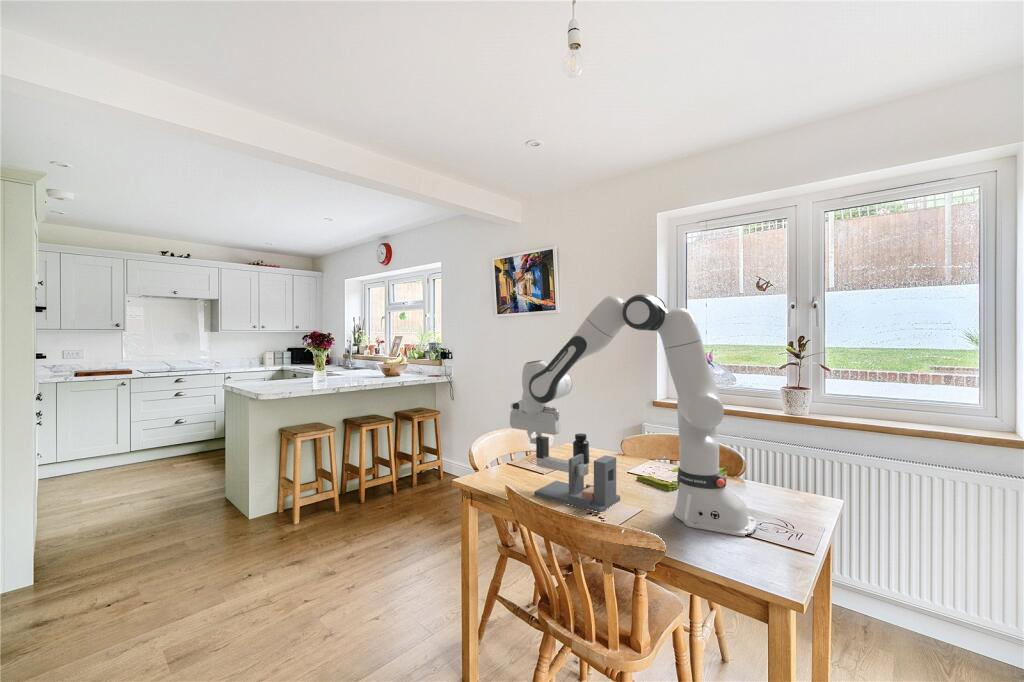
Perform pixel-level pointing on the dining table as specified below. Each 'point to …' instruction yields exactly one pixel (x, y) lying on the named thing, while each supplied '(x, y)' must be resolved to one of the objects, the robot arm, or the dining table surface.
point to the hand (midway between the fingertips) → (534, 443)
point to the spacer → (588, 493)
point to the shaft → (554, 463)
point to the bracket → (574, 488)
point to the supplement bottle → (581, 447)
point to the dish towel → (667, 485)
